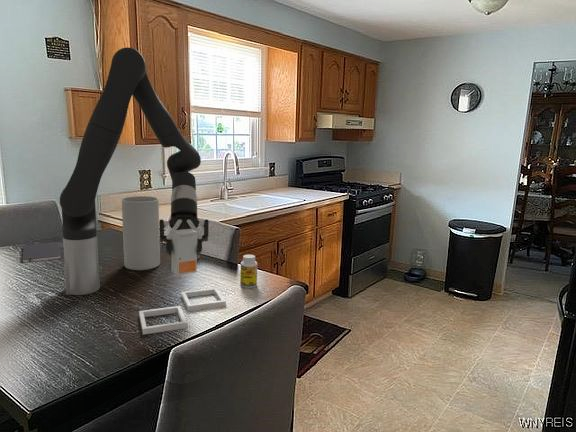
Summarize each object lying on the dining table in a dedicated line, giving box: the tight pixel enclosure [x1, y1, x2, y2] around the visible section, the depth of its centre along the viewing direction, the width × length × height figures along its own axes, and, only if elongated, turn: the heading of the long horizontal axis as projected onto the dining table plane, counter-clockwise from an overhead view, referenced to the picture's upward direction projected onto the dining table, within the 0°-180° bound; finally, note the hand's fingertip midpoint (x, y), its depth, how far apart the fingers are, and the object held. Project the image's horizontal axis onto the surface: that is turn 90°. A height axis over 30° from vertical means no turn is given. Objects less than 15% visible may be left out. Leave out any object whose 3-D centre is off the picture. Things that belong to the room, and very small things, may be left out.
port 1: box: [138, 305, 188, 336], centre depth 111 cm, size 11×13×2 cm
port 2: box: [180, 287, 227, 312], centre depth 125 cm, size 11×13×2 cm
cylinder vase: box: [121, 195, 161, 271], centre depth 151 cm, size 12×12×25 cm
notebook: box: [21, 241, 63, 263], centre depth 164 cm, size 13×2×21 cm
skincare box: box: [170, 229, 199, 276], centre depth 116 cm, size 6×4×12 cm
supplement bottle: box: [239, 254, 258, 289], centre depth 138 cm, size 6×6×10 cm
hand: (184, 253), depth 114 cm, fingers closed on skincare box, 7 cm apart
